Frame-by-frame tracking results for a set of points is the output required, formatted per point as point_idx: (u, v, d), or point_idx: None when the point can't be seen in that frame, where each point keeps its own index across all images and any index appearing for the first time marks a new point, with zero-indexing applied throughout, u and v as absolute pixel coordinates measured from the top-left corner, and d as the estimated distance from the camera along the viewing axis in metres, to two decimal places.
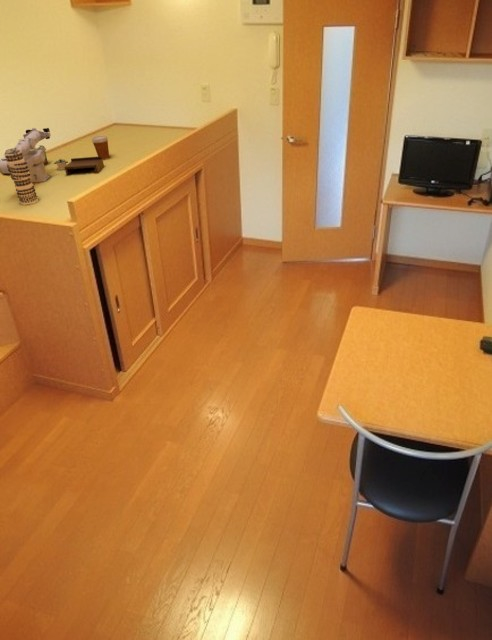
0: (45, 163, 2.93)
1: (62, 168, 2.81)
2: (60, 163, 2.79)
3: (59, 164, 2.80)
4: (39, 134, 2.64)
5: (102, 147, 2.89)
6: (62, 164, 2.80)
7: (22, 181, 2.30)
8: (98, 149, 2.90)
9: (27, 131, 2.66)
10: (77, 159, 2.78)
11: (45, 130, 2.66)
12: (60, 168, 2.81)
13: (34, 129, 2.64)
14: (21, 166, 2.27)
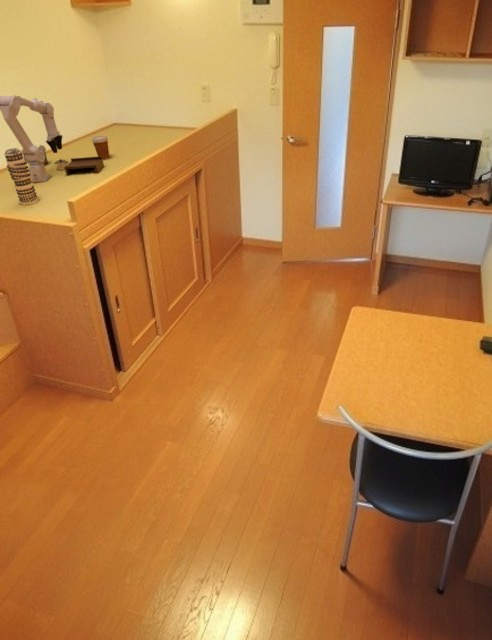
0: (45, 163, 2.93)
1: (62, 168, 2.81)
2: (60, 163, 2.79)
3: (59, 164, 2.80)
4: (52, 132, 2.70)
5: (102, 147, 2.89)
6: (62, 164, 2.80)
7: (22, 181, 2.30)
8: (98, 149, 2.90)
9: (60, 135, 2.78)
10: (77, 159, 2.78)
11: (54, 140, 2.70)
12: (60, 168, 2.81)
13: (58, 133, 2.72)
14: (21, 166, 2.27)
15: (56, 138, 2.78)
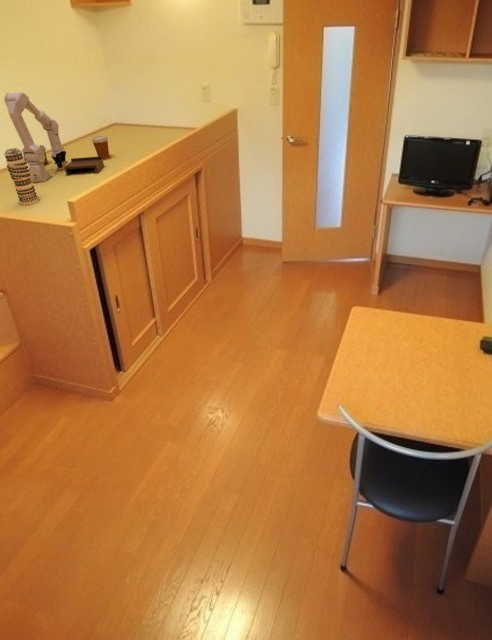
0: (45, 163, 2.93)
1: (62, 168, 2.81)
2: None
3: None
4: (56, 148, 2.75)
5: (102, 147, 2.89)
6: (62, 164, 2.80)
7: (22, 181, 2.30)
8: (98, 149, 2.90)
9: (64, 151, 2.82)
10: (77, 159, 2.78)
11: (59, 155, 2.75)
12: (60, 168, 2.81)
13: (63, 149, 2.77)
14: (21, 166, 2.27)
15: (60, 154, 2.82)
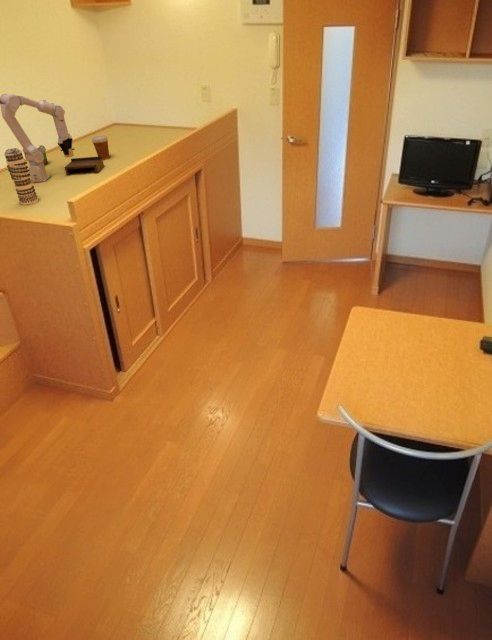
0: (45, 163, 2.93)
1: (68, 155, 2.75)
2: None
3: None
4: (63, 135, 2.68)
5: (102, 147, 2.89)
6: None
7: (22, 181, 2.30)
8: (98, 149, 2.90)
9: (70, 138, 2.76)
10: (77, 159, 2.78)
11: (65, 142, 2.69)
12: (66, 155, 2.75)
13: (69, 136, 2.71)
14: (21, 166, 2.27)
15: (66, 141, 2.75)
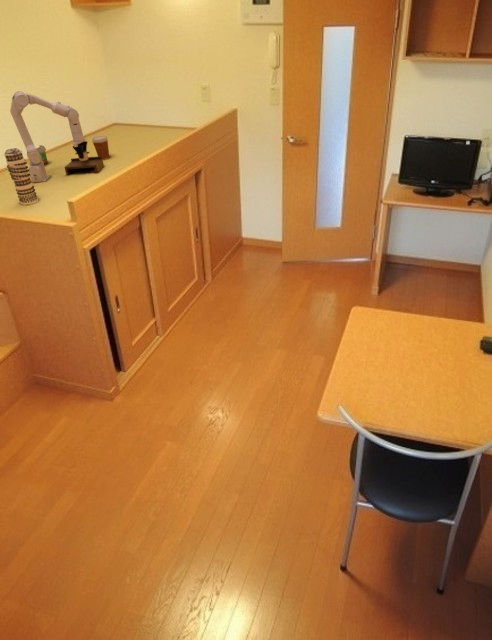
0: (45, 163, 2.93)
1: (83, 159, 2.72)
2: None
3: None
4: (78, 138, 2.66)
5: (102, 147, 2.89)
6: None
7: (22, 181, 2.30)
8: (98, 149, 2.90)
9: (85, 141, 2.73)
10: (77, 159, 2.78)
11: (80, 146, 2.67)
12: (81, 159, 2.72)
13: (84, 139, 2.68)
14: (21, 166, 2.27)
15: (81, 144, 2.73)
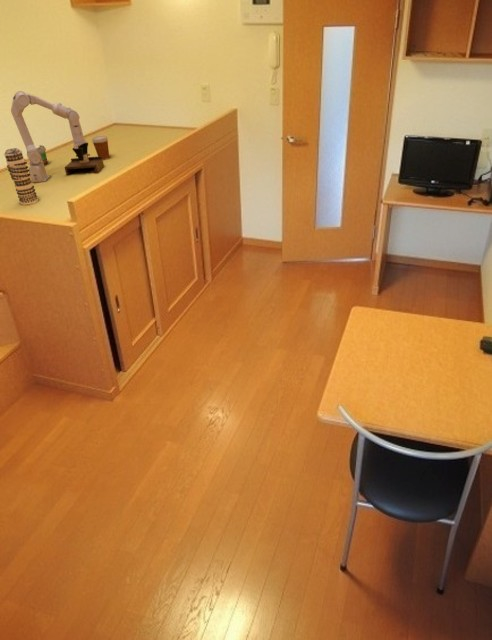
0: (45, 163, 2.93)
1: (84, 161, 2.73)
2: None
3: None
4: (78, 140, 2.66)
5: (102, 147, 2.89)
6: (84, 157, 2.72)
7: (22, 181, 2.30)
8: (98, 149, 2.90)
9: (86, 143, 2.74)
10: (77, 159, 2.78)
11: (80, 148, 2.66)
12: (82, 161, 2.73)
13: (85, 141, 2.69)
14: (21, 166, 2.27)
15: (82, 145, 2.74)
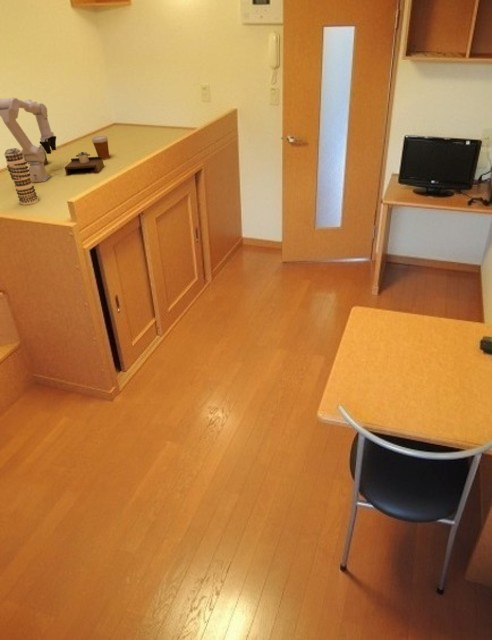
0: (45, 163, 2.93)
1: (84, 161, 2.73)
2: (82, 156, 2.71)
3: (81, 157, 2.71)
4: (45, 133, 2.68)
5: (102, 147, 2.89)
6: (84, 157, 2.72)
7: (22, 181, 2.30)
8: (98, 149, 2.90)
9: (54, 136, 2.76)
10: (77, 159, 2.78)
11: (47, 141, 2.68)
12: (82, 161, 2.73)
13: (52, 134, 2.71)
14: (21, 166, 2.27)
15: (50, 139, 2.76)
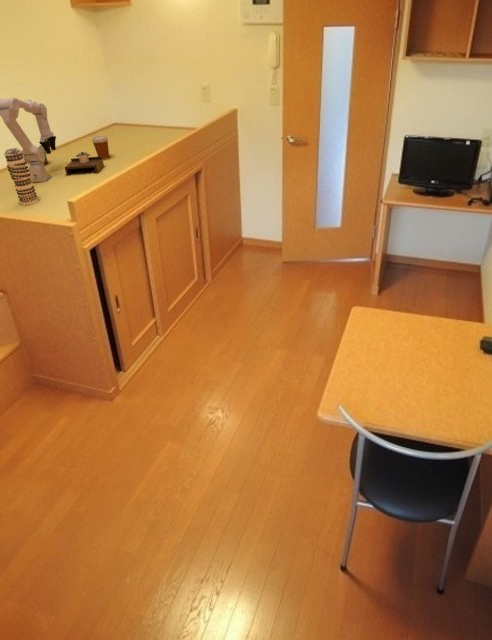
0: (45, 163, 2.93)
1: (84, 161, 2.73)
2: (82, 156, 2.71)
3: (81, 157, 2.71)
4: (45, 133, 2.68)
5: (102, 147, 2.89)
6: (84, 157, 2.72)
7: (22, 181, 2.30)
8: (98, 149, 2.90)
9: (54, 136, 2.76)
10: (77, 159, 2.78)
11: (47, 141, 2.68)
12: (82, 161, 2.73)
13: (52, 134, 2.71)
14: (21, 166, 2.27)
15: (50, 139, 2.76)
